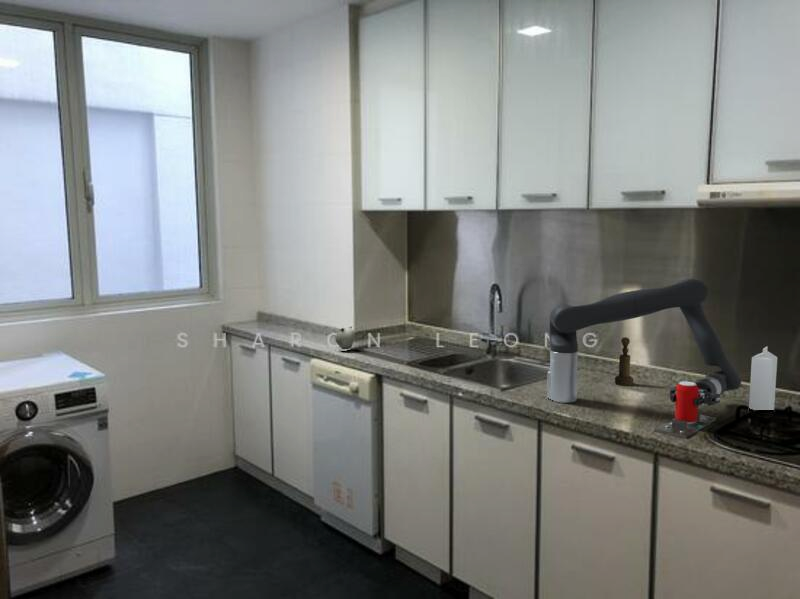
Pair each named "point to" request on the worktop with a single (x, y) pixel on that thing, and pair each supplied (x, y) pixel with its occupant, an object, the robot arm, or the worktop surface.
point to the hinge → (684, 426)
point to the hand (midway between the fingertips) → (684, 400)
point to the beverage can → (686, 402)
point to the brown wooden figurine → (624, 366)
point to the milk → (763, 381)
